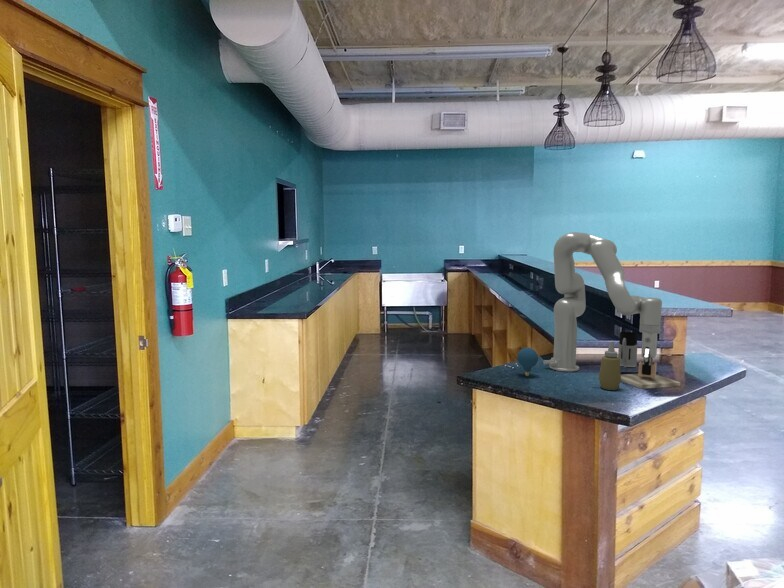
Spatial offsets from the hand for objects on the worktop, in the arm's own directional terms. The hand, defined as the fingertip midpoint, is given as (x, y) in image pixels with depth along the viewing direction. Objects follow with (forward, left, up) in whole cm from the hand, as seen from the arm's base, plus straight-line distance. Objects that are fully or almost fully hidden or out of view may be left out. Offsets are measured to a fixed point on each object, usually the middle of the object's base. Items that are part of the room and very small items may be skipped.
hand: (647, 372), depth 220 cm
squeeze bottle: (-21, -5, -4) cm, 22 cm away
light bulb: (-43, +19, -4) cm, 47 cm away
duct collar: (0, 0, -1) cm, 1 cm away
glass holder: (+10, +26, -4) cm, 28 cm away
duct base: (0, 0, -4) cm, 4 cm away
